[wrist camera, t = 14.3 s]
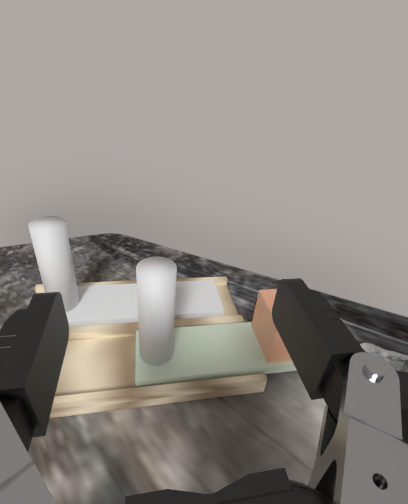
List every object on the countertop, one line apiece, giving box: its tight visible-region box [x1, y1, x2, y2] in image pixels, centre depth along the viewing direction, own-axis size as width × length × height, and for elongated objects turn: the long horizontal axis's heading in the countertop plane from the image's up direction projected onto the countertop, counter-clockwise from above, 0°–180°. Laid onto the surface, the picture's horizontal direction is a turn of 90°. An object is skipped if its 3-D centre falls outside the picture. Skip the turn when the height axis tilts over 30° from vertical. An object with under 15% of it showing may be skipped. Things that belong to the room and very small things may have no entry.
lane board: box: [35, 277, 267, 418], centre depth 33 cm, size 24×16×2 cm, turn 100°
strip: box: [28, 216, 225, 327], centre depth 33 cm, size 20×6×11 cm, turn 100°
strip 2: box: [135, 257, 297, 387], centre depth 29 cm, size 20×6×11 cm, turn 100°
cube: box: [251, 289, 292, 363], centre depth 31 cm, size 5×5×5 cm
